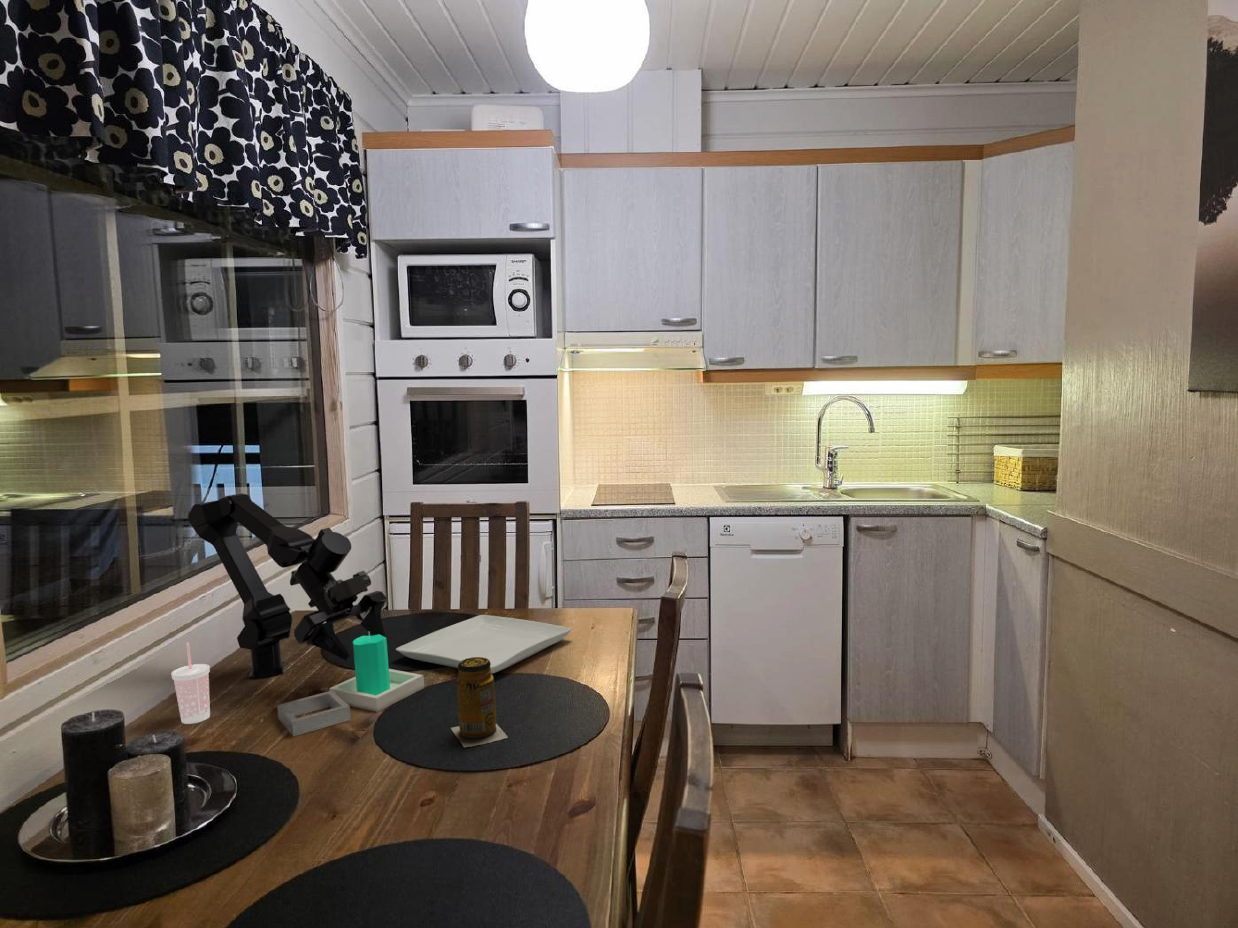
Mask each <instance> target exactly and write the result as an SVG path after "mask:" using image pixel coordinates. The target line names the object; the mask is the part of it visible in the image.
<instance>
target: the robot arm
mask: <svg viewBox="0 0 1238 928" xmlns="http://www.w3.org/2000/svg"><path fill="white" fill-rule="evenodd" d="M187 515H188V517H187V519H188V522H189V525H191V527H192V528H193V530H194V532H195V533H196V535H197V536H198V537H199V538H200V539H203V540H204V541H205V542H207V543H209V544H210V545H212V546H213V548H214V549H215V552H216V554H217V556H218V558H219V560H220V562H221V563H222V565H223V567H224V568H225V570H226V573H227V575H228V576H229V579H230V580H231V583H233V585H234V588H235V590H236V592H237V593H238V595H239V597H240V599H241V600H242V603H243V611H242V617H241V619H242V622H243V625H244V626H243V628H242V629H241V631H240V633H239V634H238V636H236V640H237V643H238V646H239V648H240V649H244V650H245V649H246V650H249V651H250V661H251V669H250V670H249V674H248V679H256V678H263V677H269V676H271V677H272V676H278V675H283V674H284V673H285V669H286V661H283V659H282V647H281V641H282V640H285V639H289V638H290V635H291V628H292V623H293V617H292V613H291V608H290V607H289V605H288V604H287V603H286V600H285V597H284V596H283V595H282V594H281V593H277V594H272V593H271V592H269V591H268V589H267V588H266V586H265V584H264V582H263V580H262V578H261V577H260V574H259V573H258V570H257V569H256V567H255V565H254V563H253V562H252V559H251V558H250V556H249V554H248V552H247V551H246V548H245V546H244V545H243V543H242V541H241V539H240V536H239V535H238V533H237V532H238V526H239V525H241V526H242V527H244V528H245V529H246V530H247V531H248V532H250V533H251V534H252V535H253V536H255V537H256V538H257V539H259V540H260V541H261V542H262V543H263V544H265V546H266V549H267V554H268V556H269V557H270V558H271V559H272V560H273V562H274V563H276V564H277V566H279V567H281V568H283V569H285V568H289V567H293V566H297V565H298V567H297V569H296V570H292V571H291V577H290V580H289V585H290V586H295V585H300V587H301V588H302V589H303V591H304V592H305V594H306V595H307V596H308V598H309V602H308V603H307V605H308V606H309V607H310V608H311V609H312V608H314V607H316V609H317V611H314V612H311V613H310V612H309V613H308V614H304V615H303V617H302V618H301V619H300V621H299V622H298V624H297V625H296V627H295V628H294V630H293V636H294V639H295V640H296V641H297V643H298V644H300V645H302V644H305V643H306V644H305V645H307V646H310V645H311V646H314V647H316V648H319V649H320V650H323V651H325V652H326V651H327V652H328V653H331V654H332V655H334V656H336V657H338V658H340V659H342V660H344V661H348V660H349V659H350V654H349V652H348V650H347V649H346V647H345V646H344V644H343V642H342V640H341V639H340V638H339V636H337V634H336V632H335V629H334V624H336V623H339V622H342V621H345V620H347V619H351V618H352V617H356V619H357V620H359V621H361V622H360V624H359V625H360V626H361V627H363V628H364V629H365V630H366V631H367V632H368V634H370V636H373V635H381V636H383V637H386V638H387V636H386V634H385V633H386V632H385V628H384V625H383V621H382V620H383V619H382V615H381V614H382V610H383V609H384V607H385V604H386V602H387V601H388V598H387V597H386V595H385V594H384V593H383V591H381V590H376V591H372V592H369V593H366V592H368V591H369V589H368V587H369V586H371V585H372V580H371V577H370V576H369V575H368V573H367V572H366V571H365V570H361V571H357V573H353V575H352V578H348V579H344V580H343V579H338V580H337V579H335V577H334V576H333V574H332V573H334V572H335V571H337V570H338V568H339V567H340V566H341V565H342V563H343V562H344V560H345V559H346V557H347V556H348V554H349V553H350V552H351V550H352V543H351V541H350V539H349V538H348V537H347V536H345V535H343V534H341V533H340V532H336V531H333V530H332V529H331V528H330V527H325V528H322V529H320V530H319V532H318V534H317V536H316V538H314V537H313V536H312V535H311V534H309V533H307V532H305V531H303V530H301V529H299V528H294V527H290V526H286V525H285V524H283V523H282V522H281V521H279V520H278V519H276V518H275V517H273V516H272V515H271V514H270V513H269V512H267V511H266V510H264V509H263V508H262V507H261V506H259V505H258V504H257V503H256V502H254V501H253V500H252V499H251V497H250V495H249V494H246V493H237V494H232V495H225V496H224V497H222V498H219V499H217V500H214V501H213V500H211V501H206V502H199V503H195V504H194V505H192V507H191V508H190V511H189V512H188V514H187ZM238 524H239V525H238ZM363 592H364V593H366V594H364V595H363V597H362V598H361V599H360V600H359V602H358V603H357V604H355V605H354V603H355V602H356V601H358V598H359V597H358V595H360V594H363Z"/></svg>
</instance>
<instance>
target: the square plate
mask: <svg viewBox="0 0 1238 928" xmlns="http://www.w3.org/2000/svg"><path fill="white" fill-rule="evenodd" d="M572 630H573V627H571V626H570V627H569V626H564V625H559V624H558V625H557V624H552V623H546V622H540V621H534V620H527V619H521V618H513V617H505V616H497V615H487V614H480V615H476V616H473V617H471V618H469V619H466V620H463V621H460V622H457V623H455V624H452V625H449V626H446V627H443V628H441V629H438V630H435V631H433V632H431V633H428V634H426V635H424V636H421V637H419V638H416V639H414V640H411V641H409V642H407V643H405V644H403V645H400V646H398V647H396V648H395V651H397V652H399V653H400V654H401V655H403V656H405V657H407V658H409V659H413V660H417V661H421V662H425V663H432V664H436V665H442V666H445V667H450V668H451V667H452V668H455V669H458V665H459V663H460V662H461V661H462V660H464V659H467V658H472V657H483V658H487V659H488V660H489V661H490V664H491V665H490V668H491V674H492V675H493V674H495V673H498V672H500V671H503V670H505V669H507V668H510V667H511V666H513V665H515V664H517V663H519V662H521V661H523V660H525V659H526V658H529V657H531V656H533V655H535V654H536V653H539V652H541V651H543V650H544V649H547V648H548V647H550V646H552V645H555V644H556V643H558V642H560V641H562V640H563V639H564V638H565V637H567V636H568V635H569V634H570V632H571V631H572Z"/></svg>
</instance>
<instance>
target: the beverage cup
mask: <svg viewBox="0 0 1238 928" xmlns="http://www.w3.org/2000/svg"><path fill="white" fill-rule="evenodd" d="M185 646H186V655H187V662H188V663H187V664H188V665H185V666H181V667H179V668H176V669H174V670H172V671H171V673H170V676H171V679H172V680H173V683H174V688H175V694H176V700H177V705H178V711H179V717H180V720H181V721H180V722H181V723H182V724H185V725H190V724H197V723H201V722H204V721H206V720H208V719H209V718H210V716H211V707H210V706H211V705H210V703H211V702H210V678H209V677H210V676H209V673H210V672H211V669H210V668H211V667H210V665H209V664H206V663H195V664H192V657H191V648H190V642H189V641H186V645H185Z"/></svg>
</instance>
